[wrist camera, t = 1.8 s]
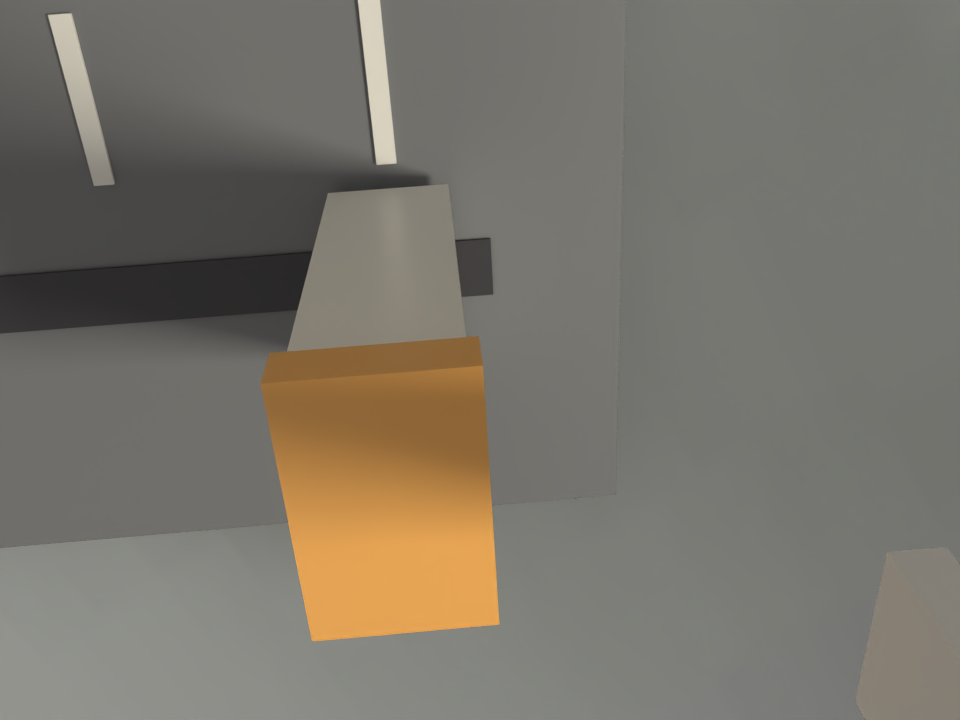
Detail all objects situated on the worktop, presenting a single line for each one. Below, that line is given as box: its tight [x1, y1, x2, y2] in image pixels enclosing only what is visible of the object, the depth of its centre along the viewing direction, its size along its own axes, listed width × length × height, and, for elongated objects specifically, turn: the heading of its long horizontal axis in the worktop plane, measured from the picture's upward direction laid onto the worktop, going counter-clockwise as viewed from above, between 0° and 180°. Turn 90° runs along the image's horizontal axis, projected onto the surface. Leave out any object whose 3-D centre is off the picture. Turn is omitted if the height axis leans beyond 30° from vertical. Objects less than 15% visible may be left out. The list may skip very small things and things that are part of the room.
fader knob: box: [261, 184, 499, 641], centre depth 19 cm, size 5×3×10 cm, turn 3°
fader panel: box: [0, 0, 626, 548], centre depth 25 cm, size 16×26×2 cm, turn 93°
